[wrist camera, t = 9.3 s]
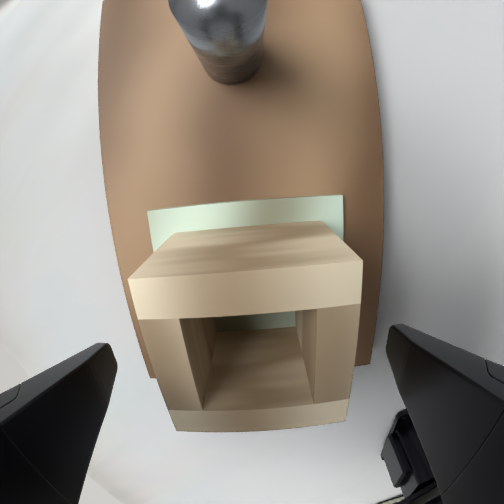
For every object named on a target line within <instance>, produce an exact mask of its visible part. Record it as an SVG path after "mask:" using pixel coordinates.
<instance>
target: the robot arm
mask: <svg viewBox="0 0 504 504" xmlns="http://www.w3.org/2000/svg"><path fill="white" fill-rule="evenodd" d="M386 353H387V357H388V360H389V363H390V365H391V369H392V372H393V375H394V378H395V381H396V384H397V387H398V390H399V392H400V395H401V397H402V399H403V402H404V404H405V406H406V408H407V410H406V411H403V412H400V413H399V414H397V415H396V417H395V420H394V423H393V425H392V428H391V431H390V433H389V435H388V437H387V440H386V442H385V445H384V447H383V450H382V453H381V458H382V460H385V463H386V466H387V469H388V472H389V474H390V477H391V480H392V483H393V486H394V487H396V488H398V487H401V490H402V493H403V496H404V499H402V500H401V501H399V502H395V503H393V504H504V366H502V365H499V364H496V363H494V362H492V361H489V360H487V359H486V360H485V359H484V358H482V357H480V356H477V355H475V354H472V353H470V352H468V351H465V350H463V349H461V348H458V347H456V346H453V345H451V344H449V343H446V342H444V341H442V340H439V339H437V338H435V337H432V336H430V335H428V334H425V333H423V332H421V331H418V330H416V329H413V328H411V327H409V326H406V325H404V324H397V325H392V326H391V327H390V329H389V333H388V339H387V345H386ZM116 373H117V362H116V359H115V356H114V354H113V351H112V348H111V346H110V345H109V344H108V343H96V344H94V345H93V346H91V347H89V348H87V349H85V350H83V351H81V352H79V353H78V354H76V355H74V356H72V357H70V358H68V359H66V360H64V361H62V362H61V363H59V364H57V365H55V366H53V367H51V368H49V369H47V370H45V371H44V372H42V373H40V374H38V375H36V376H34V377H32V378H30V379H28V380H26V381H25V382H23V383H22V384H19V385H17V386H15V387H13V388H11V389H9V390H7V391H5V392H3V393H1V394H0V504H78V503H79V499H80V495H81V491H82V488H83V484H84V481H85V477H86V474H87V470H88V467H89V463H90V460H91V457H92V454H93V450H94V447H95V444H96V441H97V438H98V435H99V432H100V429H101V426H102V423H103V420H104V417H105V414H106V411H107V408H108V405H109V401H110V397H111V393H112V389H113V385H114V381H115V377H116Z"/></svg>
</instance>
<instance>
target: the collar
mask: <svg viewBox="0 0 504 504" xmlns="http://www.w3.org/2000/svg"><path fill="white" fill-rule="evenodd" d="M362 274H363V260H362V259H361V258H360V257H359V256H358V255H357V254H356V253H355V252H354V251H353V250H352V249H351V248H350V247H349V246H348V245H346V244H345V243H344V242H343V241H342V240H341V239H340V238H339V237H338V236H337V235H336V234H335V233H334V232H333V231H332V230H331V229H330V228H328V227H327V226H326V225H325V224H324V223H323V222H322V221H321V220H318V221H304V222H291V223H278V224H265V225H253V226H241V227H230V228H219V229H208V230H198V231H187V232H177V233H173V234H172V235H171V236H170V237H169V238H168V239H167V240H166V241H165V242H164V243H163V244H162V245H161V246H160V247H159V248H158V249H157V250H156V251H155V252H154V253H153V254H152V255H151V256H150V257H149V258H148V259H147V260H146V261H145V262H144V263H143V264H142V265H141V266H140V267H139V268H138V269H137V270H136V271H135V272H134V273H133V274H132V275H131V276H130V277H129V278H128V283H129V287H130V291H131V295H132V299H133V303H134V307H135V311H136V314H137V318H138V322H139V325H140V329H141V332H142V335H143V339H144V342H145V345H146V349H147V352H148V355H149V358H150V361H151V364H152V367H153V370H154V373H155V376H156V379H157V382H158V384H159V387H160V390H161V393H162V395H163V398H164V401H165V403H166V406H167V409H168V411H169V414H170V416H171V419H172V421H173V424H174V426H175V428H176V431H186V432H250V431H267V430H280V429H291V428H300V427H308V426H316V425H323V424H330V423H336V422H342V421H346V415H347V410H348V404H349V398H350V392H351V386H352V379H353V372H354V364H355V357H356V348H357V339H358V329H359V319H360V306H361V292H362ZM288 311H295V321H296V326H294V327H283V328H271V329H259V330H245V331H229V332H217V328H216V322H215V317H222V316H238V315H252V314H265V313H277V312H288Z"/></svg>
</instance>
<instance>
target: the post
mask: <svg viewBox="0 0 504 504" xmlns="http://www.w3.org/2000/svg"><path fill="white" fill-rule="evenodd" d="M168 3H169V8H170V10H171V12H172V14H173V16H174V17H175V19H176V21H177V23H178V24H179V26H180V28H181V29H182V31H183V33H184V35H185V36H186V38H187V40H188V41H189V43H190V45H191V47H192V49H193V50H194V52H195V54H196V56H197V57H198V59H199V61H200V63H201V65H202V66H203V68H204V70H205V72H206V73H207V75H208V76H209V77H210V78H212V79H213V80H215V81H216V82H219V83H222V84H226V85H235V84H240V83H243V82H246V81H247V80H249V79H251V78H252V77H253V76H254V75H255V74H256V73H257V72H258V70H259V68H260V66H261V62H262V52H263V42H264V31H265V21H266V11H267V0H168Z"/></svg>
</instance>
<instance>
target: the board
mask: <svg viewBox="0 0 504 504" xmlns="http://www.w3.org/2000/svg"><path fill="white" fill-rule="evenodd" d="M98 105H99V128H100V143H101V155H102V165H103V174H104V183H105V191H106V198H107V205H108V212H109V218H110V224H111V230H112V235H113V241H114V246H115V251H116V256H117V261H118V266H119V270H120V275H121V279H122V283H123V287H124V292H125V296H126V300H127V303H128V307H129V311H130V315H131V318H132V322H133V325H134V329H135V332H136V336H137V339H138V342H139V346H140V349H141V352H142V355H143V358H144V361H145V364H146V367H147V370H148V373H149V376H150V378H156V376H155V373H154V370H153V367H152V364H151V361H150V358H149V355H148V352H147V349H146V345H145V342H144V339H143V335H142V332H141V329H140V325H139V322H138V318H137V314H136V311H135V307H134V303H133V299H132V295H131V291H130V287H129V283H128V278H129V277H130V276H131V275H132V274H133V273H134V272H135V271H136V270H137V269H138V268H139V267H140V266H141V265H142V264H143V263H144V262H145V261H146V260H147V259H148V258H149V257H150V256H151V255H152V254H153V253H154V252H155V251H156V250H157V249H158V248H159V247H160V246H161V245H162V244H163V243H164V242H165V241H166V240H167V239H168V238H169V237H170V236H171V235H172V234H173V233H177V232H187V231H198V230H208V229H219V228H230V227H241V226H253V225H265V224H278V223H291V222H304V221H318V220H321V221H322V222H323V223H324V224H325V225H326V226H327V227H328V228H330V229H331V230H332V231H333V232H334V233H335V234H336V235H337V236H338V237H339V238H340V239H341V240H342V241H343V242H344V243H345V244H346V245H348V246H349V247H350V248H351V249H352V250H353V251H354V252H355V253H356V254H357V255H358V256H359V257H360V258H361V259H362V260H363V274H362V292H361V306H360V319H359V329H358V339H357V348H356V357H355V364H354V367H355V366H361V365H367V364H370V360H371V354H372V348H373V341H374V334H375V327H376V319H377V311H378V302H379V292H380V280H381V267H382V251H383V226H384V176H383V151H382V135H381V122H380V112H379V102H378V93H377V85H376V78H375V71H374V65H373V59H372V53H371V47H370V42H369V36H368V32H367V27H366V22H365V18H364V13H363V9H362V5H361V1H360V0H267V11H266V21H265V31H264V42H263V52H262V62H261V66H260V68H259V70H258V72H257V73H256V74H255V75H254V76H253V77H252V78H251V79H249V80H247V81H246V82H243V83H240V84H235V85H226V84H222V83H219V82H216V81H215V80H213V79H212V78H210V77H209V76H208V75H207V73H206V72H205V70H204V68H203V66H202V65H201V63H200V61H199V59H198V57H197V56H196V54H195V52H194V50H193V49H192V47H191V45H190V43H189V41H188V40H187V38H186V36H185V35H184V33H183V31H182V29H181V28H180V26H179V24H178V23H177V21H176V19H175V17H174V16H173V14H172V12H171V10H170V8H169V3H168V0H104V1H103V4H102V13H101V24H100V38H99V60H98ZM215 322H216V328H217V332H229V331H245V330H259V329H271V328H283V327H294V326H296V321H295V311H288V312H277V313H265V314H252V315H238V316H222V317H215Z"/></svg>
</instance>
